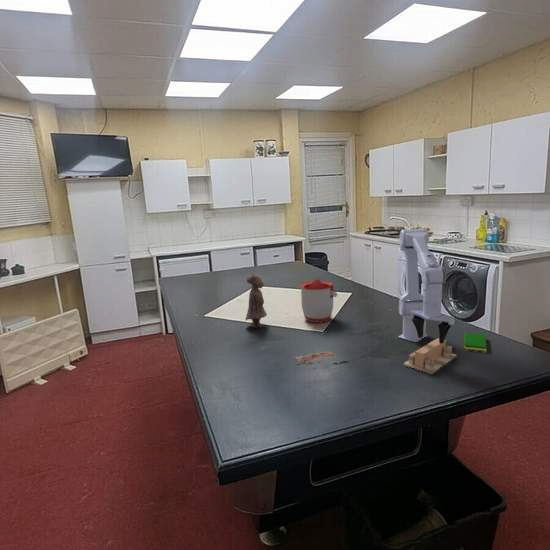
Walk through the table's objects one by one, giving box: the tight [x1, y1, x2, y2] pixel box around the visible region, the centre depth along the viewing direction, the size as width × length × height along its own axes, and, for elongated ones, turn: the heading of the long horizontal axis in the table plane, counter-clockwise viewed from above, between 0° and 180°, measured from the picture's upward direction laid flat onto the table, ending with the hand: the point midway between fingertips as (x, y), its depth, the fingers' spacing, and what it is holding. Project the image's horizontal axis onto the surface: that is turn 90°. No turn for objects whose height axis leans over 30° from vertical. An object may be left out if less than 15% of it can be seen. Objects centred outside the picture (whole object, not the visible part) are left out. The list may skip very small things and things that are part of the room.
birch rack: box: [403, 342, 457, 375], centre depth 135 cm, size 18×10×4 cm, turn 132°
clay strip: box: [414, 337, 447, 368], centre depth 135 cm, size 16×3×5 cm, turn 132°
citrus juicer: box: [299, 278, 338, 323], centre depth 184 cm, size 16×17×20 cm
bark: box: [294, 351, 347, 365], centre depth 141 cm, size 22×12×1 cm, turn 110°
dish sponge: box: [464, 332, 487, 352], centre depth 148 cm, size 7×14×2 cm, turn 154°
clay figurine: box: [245, 273, 268, 329], centre depth 178 cm, size 13×10×25 cm
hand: (430, 339), depth 134 cm, fingers open, 7 cm apart
